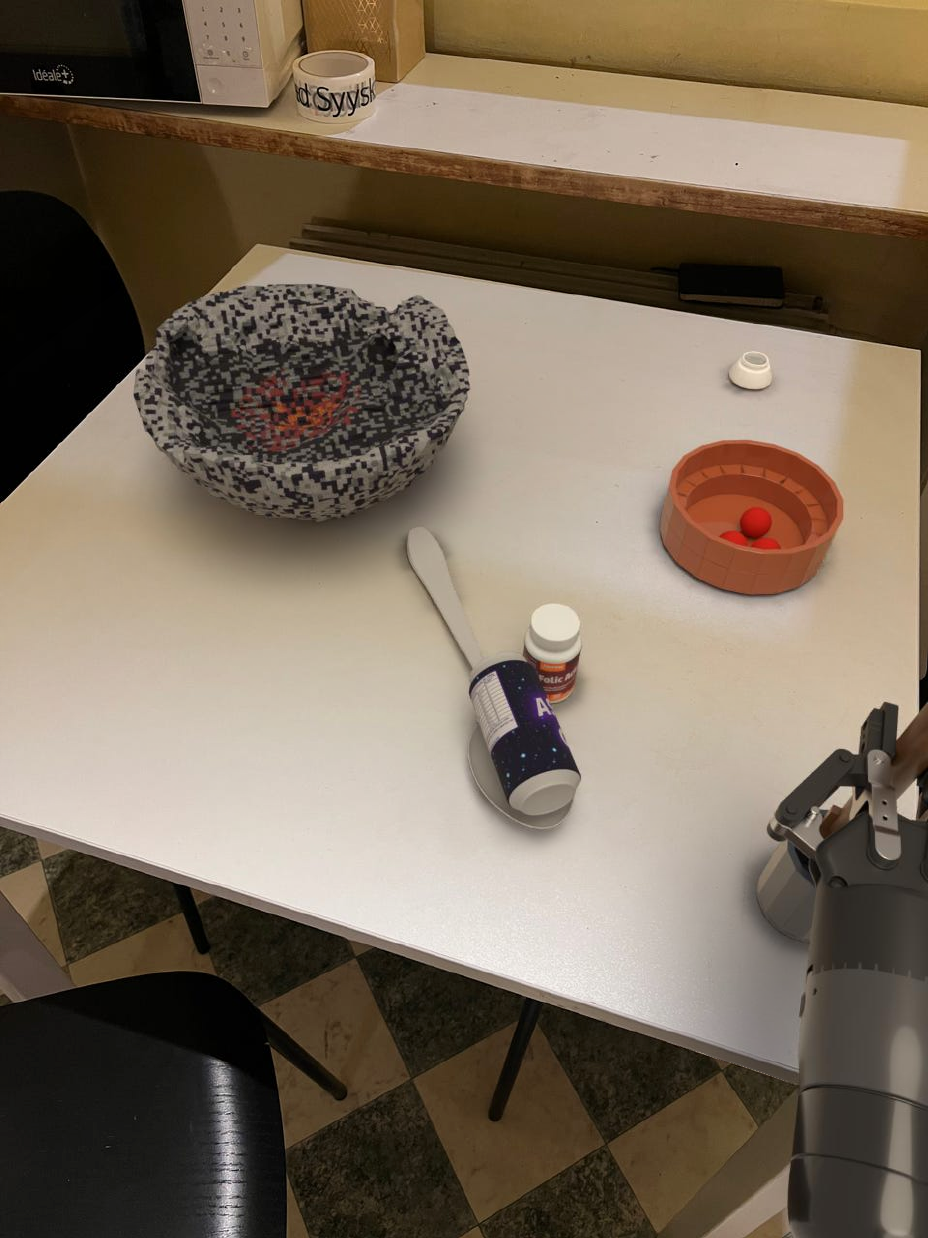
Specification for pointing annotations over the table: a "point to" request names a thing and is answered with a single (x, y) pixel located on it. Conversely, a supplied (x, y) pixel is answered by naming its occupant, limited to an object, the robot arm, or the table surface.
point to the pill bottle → (554, 648)
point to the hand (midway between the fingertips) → (908, 718)
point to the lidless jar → (751, 371)
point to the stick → (892, 769)
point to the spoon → (439, 585)
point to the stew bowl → (730, 485)
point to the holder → (788, 891)
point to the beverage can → (523, 734)
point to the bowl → (302, 396)
